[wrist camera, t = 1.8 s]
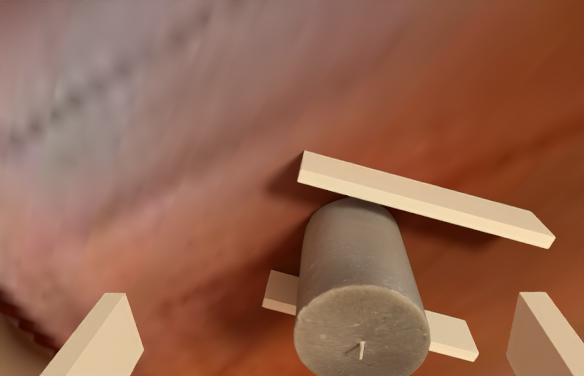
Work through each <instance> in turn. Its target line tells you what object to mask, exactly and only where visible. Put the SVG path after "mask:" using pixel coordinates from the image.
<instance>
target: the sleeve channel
mask: <svg viewBox="0 0 584 376" xmlns="http://www.w3.org/2000/svg"><path fill="white" fill-rule="evenodd" d="M297 182H300V183H304V184H307V185H311V186H315V187H318V188H322V189H326V190H330V191H333V192H337V193H341V194H345V195H348V196H352V197H356V198H360V199H363V200H367V201H371V202H375V203H378V204H382V205H386V206H390V207H393V208H397V209H401V210H405V211H408V212H412V213H416V214H420V215H423V216H427V217H431V218H434V219H438V220H442V221H446V222H449V223H453V224H457V225H461V226H464V227H468V228H472V229H476V230H479V231H483V232H487V233H491V234H494V235H498V236H502V237H506V238H509V239H513V240H517V241H521V242H524V243H528V244H532V245H535V246H539V247H543V248H547V249H548V248H549V247H550V245H551V244H552V242H553V241H554V239H555V238H556V237H555V236H554V235H553V234H552V233H551V232H550V231H549V230H548V229H547V228H546V227H545V226H544V225H543V224H542V223H541V221H540V220H539V219H538V218H537V217H536V216H535V215H534V214H533V213H532V212H531V211H527V210H524V209H520V208H516V207H512V206H509V205H505V204H501V203H498V202H494V201H490V200H486V199H483V198H479V197H475V196H471V195H468V194H464V193H460V192H457V191H453V190H449V189H445V188H442V187H438V186H434V185H431V184H427V183H423V182H419V181H416V180H412V179H408V178H405V177H401V176H397V175H393V174H390V173H386V172H382V171H379V170H375V169H371V168H367V167H364V166H360V165H356V164H353V163H349V162H345V161H341V160H338V159H334V158H330V157H327V156H323V155H319V154H315V153H312V152H308V151H304V154H303V157H302V161H301V165H300V170H299V175H298V180H297ZM298 286H299V277H297V276H293V275H290V274H286V273H282V272H278V271H274V270H271V271H270V275H269V279H268V283H267V287H266V291H265V296H264V300H263V304H262V307H264V308H268V309H272V310H276V311H280V312H284V313H288V314H291V315H295V314H296V305H297V296H298ZM424 311H425V314H426V318H427V320H428V324H429V328H430V339H431V343H430V347H429V350H430V351H434V352H438V353H442V354H445V355H449V356H453V357H457V358H461V359H465V360H468V361H472V362H474V361H475V359H476V357H477V356H478V354H479V352H478V350H477V348H476V345H475V343H474V341H473V338H472V336H471V333H470V331H469V329H468V326H467V324H466V322H465V320H461V319H457V318H454V317H450V316H446V315H442V314H438V313H435V312H431V311H427V310H424Z"/></svg>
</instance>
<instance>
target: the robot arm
mask: <svg viewBox="0 0 584 376" xmlns="http://www.w3.org/2000/svg"><path fill="white" fill-rule="evenodd" d="M143 351H144V349H143V346H142V342H141V339H140V336H139V333H138V330H137V327H136V324H135V321H134V318H133V315H132V312H131V309H130V306H129V303H128V300H127V297H126V294H125V293H104V295H103V296H102V297H101V298H100V300H99V301H98V302H97V304H96V305H95V306H94V307H93V309H92V310H91V311H90V312H89V314H88V315H87V316H86V318H85V319H84V320H83V321H82V323H81V324H80V325H79V326H78V328H77V329H76V330H75V331H74V333H73V334H72V335H71V337H70V338H69V339H68V340H67V342H66V343H65V344H64V345H63V347H62V348H61V349H60V351H59V352H58V353H57V354H56V356H55V357H54V358H53V359H52V361H51V362H50V363H49V364H48V366H47V367H46V368H45V370H44V371H43V372H42V373H41V375H40V376H130V374H131V373H132V371H133V369H134V367H135V365H136V363H137V362H138V360H139V358H140V356H141V354H142V352H143ZM506 356H507V358H508V361H509V363H510V365H511V367H512V369H513V371H514V373H515V375H516V376H584V343H583V342H582V341H581V339H580V338H579V337H578V335H577V334H576V333H575V331H574V330H573V329H572V327H571V326H570V324H569V323H568V322H567V320H566V319H565V318H564V316H563V315H562V314H561V312H560V311H559V310H558V308H557V307H556V306H555V304H554V303H553V302H552V300H551V299H550V297H549V296H548V295H547V293H546V292H519V296H518V301H517V306H516V311H515V315H514V320H513V325H512V330H511V335H510V340H509V344H508V349H507V354H506Z"/></svg>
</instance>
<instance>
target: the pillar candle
mask: <svg viewBox="0 0 584 376" xmlns="http://www.w3.org/2000/svg"><path fill="white" fill-rule="evenodd" d="M300 266H301V267H300V275H299V286H298V296H297V305H296V314H295V323H294V339H293V341H294V346H295V349H296V352H297V354H298V356H299V358H300V360H301V361H302V363H303V364H304V365H305V366H306V367H307V368H308V369H309V370H310V371H311V372H313V373H314V374H316V375H318V376H409V375H411V374H412V373H413V372H414V371H415V370H416V369H418V368H419V366H420V365H421V364H422V363H423V362H424V360H425V358H426V356H427V354H428V351H429V347H430V343H431V339H430V328H429V324H428V320H427V318H426V314H425V311H424V308H423V304H422V301H421V298H420V295H419V292H418V289H417V285H416V282H415V279H414V276H413V273H412V270H411V267H410V263H409V260H408V257H407V254H406V250H405V247H404V244H403V241H402V237H401V234H400V231H399V228H398V225H397V223H396V221H395V219H394V218H393V216H392V215H391V214H390V212H389V211H388V210H386V209H385V208H384V207H383V206H381V205H380V204H378V203H375V202H371V201H367V200H363V199H360V198H356V197H348V198H344V199H340V200H337V201H333V202H331V203H329V204H326V205H324V206H323V207H321V208H320V209H318V210H317V211H316V212H315V213H314V214H313V215H312V216H311V218H310V221H309V222H308V224H307V226H306V229H305V235H304V239H303V245H302V253H301V265H300Z"/></svg>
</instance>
